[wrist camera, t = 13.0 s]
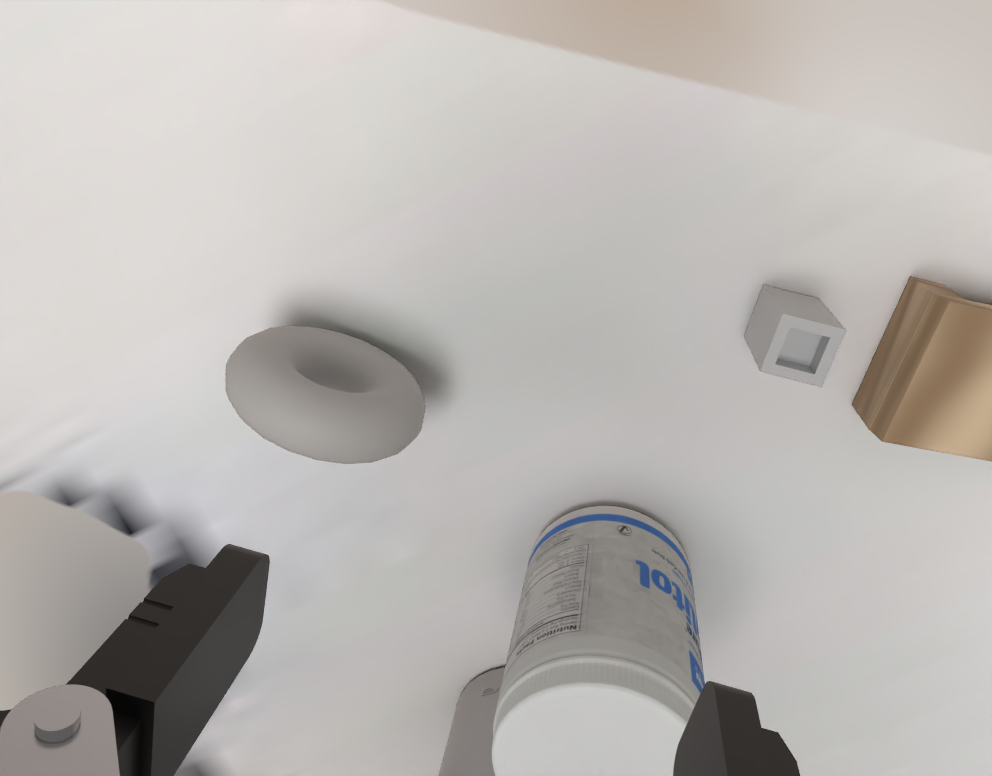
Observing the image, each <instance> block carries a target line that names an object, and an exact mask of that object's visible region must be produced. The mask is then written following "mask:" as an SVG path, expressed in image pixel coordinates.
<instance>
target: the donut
mask: <svg viewBox="0 0 992 776" xmlns="http://www.w3.org/2000/svg"><path fill="white" fill-rule="evenodd" d="M226 393H227V396H228V399H229V401H230V402H231V404H232V405H233V407H234V409H235V410H236V412H237V414H238V415H239V417H240V418H241V419H242V420H243V421H244V422H245V423H246V424H247V425H249V426H250V427H251V428H252V429H253V430H254V431H256V432H257V433H258V434H259V435H260V436H262V437H263V438H265V439H267V440H268V441H270V442H272V443H274V444H276V445H278V446H280V447H282V448H284V449H286V450H288V451H290V452H293V453H297V454H300V455H303V456H306V457H309V458H312V459H316V460H321V461H328V462H335V463H343V464H353V463H371V462H374V461H378V460H381V459H384V458H387V457H390V456H393V455H396V454H398V453H399V452H401V451H402V450H403V449H404V448H406V447H407V446H408V445H409V444H410V443H411V442H412V441H413V440H414V439H415V438H416V437H417V436H418V434H419V432H420V431H421V428H422V423H423V418H424V412H425V407H426V406H425V400H424V396H423V394H422V392H421V389H420V387H419V385H418V383H417V381H416V379H415V378H414V376H413V375H412V374H411V373H410V372H409V371H408V370H407V369H406V368H405V367H404V366H403V365H402V364H401V363H400V362H398V361H397V360H396V359H394V358H393V357H391V356H390V355H388V354H387V353H385V352H384V351H382V350H381V349H379V348H377V347H375V346H373V345H371V344H369V343H367V342H365V341H363V340H360V339H358V338H355V337H352V336H349V335H346V334H343V333H340V332H336V331H331V330H326V329H322V328H316V327H302V326H284V327H275V328H269V329H267V330H264V331H262V332H259V333H257V334H254V335H252V336H250V337H247V338H246V339H245V340H244V341H243V342H242V343H241V344H240V345H239V346H238V347H237V348H236V350H235V351H234V352H233V353H232V354H231V356H230V358H229V360H228V362H227V364H226Z"/></svg>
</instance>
